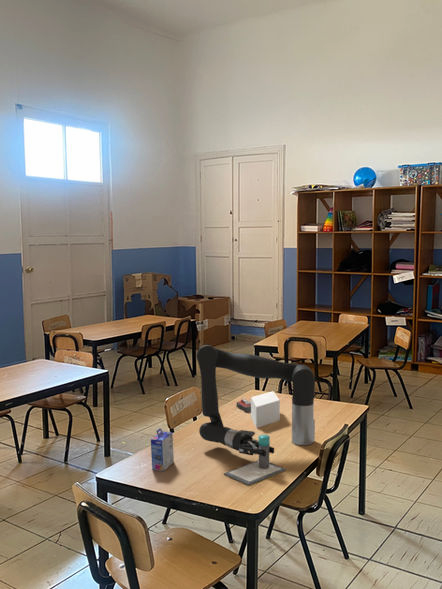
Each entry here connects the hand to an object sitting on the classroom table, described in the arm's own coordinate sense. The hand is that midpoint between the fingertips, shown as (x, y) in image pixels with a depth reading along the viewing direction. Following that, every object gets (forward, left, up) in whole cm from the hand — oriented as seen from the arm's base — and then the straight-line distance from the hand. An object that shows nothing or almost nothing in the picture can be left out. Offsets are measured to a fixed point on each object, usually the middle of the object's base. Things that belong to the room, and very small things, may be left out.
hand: (269, 452), depth 219 cm
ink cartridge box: (+27, -32, -8) cm, 42 cm away
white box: (-44, -45, -8) cm, 63 cm away
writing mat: (+5, -3, -7) cm, 9 cm away
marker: (0, -3, -7) cm, 7 cm away
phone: (-18, -34, -8) cm, 39 cm away
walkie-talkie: (-51, -65, -8) cm, 83 cm away
